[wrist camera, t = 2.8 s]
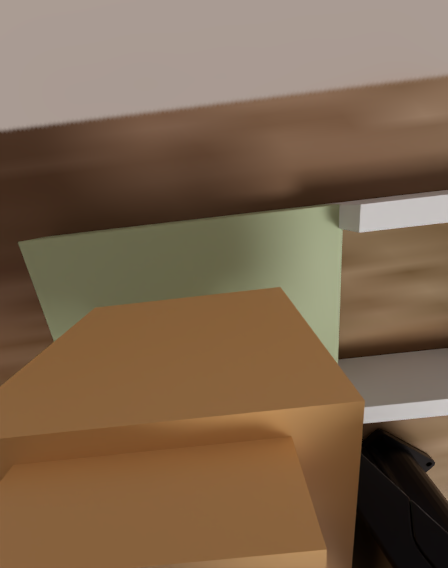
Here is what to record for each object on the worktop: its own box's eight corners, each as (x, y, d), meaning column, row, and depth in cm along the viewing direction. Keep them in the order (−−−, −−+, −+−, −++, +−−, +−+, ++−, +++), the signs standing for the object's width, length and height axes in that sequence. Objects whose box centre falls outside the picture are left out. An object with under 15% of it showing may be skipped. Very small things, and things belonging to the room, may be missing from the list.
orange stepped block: (280, 286, 8) (442, 503, 2) (288, 467, 10) (373, 791, 5) (94, 307, 8) (-216, 566, 2) (146, 481, 10) (58, 816, 5)
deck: (511, 182, 15) (629, 173, 11) (471, 359, 19) (546, 405, 14) (49, 236, 15) (-18, 248, 11) (101, 397, 19) (67, 453, 15)
